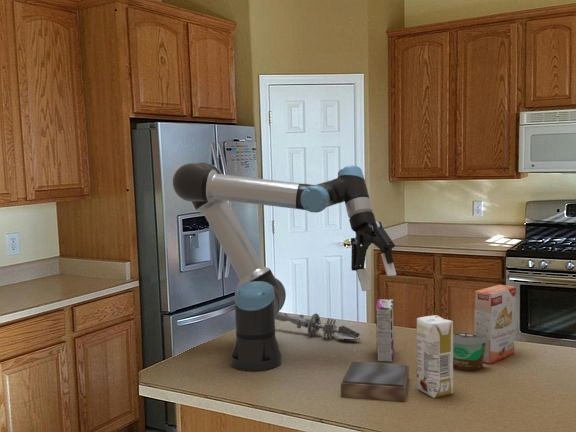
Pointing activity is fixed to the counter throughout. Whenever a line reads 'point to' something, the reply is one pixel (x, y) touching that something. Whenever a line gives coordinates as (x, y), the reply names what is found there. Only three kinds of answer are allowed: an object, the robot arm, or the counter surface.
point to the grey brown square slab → (375, 381)
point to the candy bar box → (385, 330)
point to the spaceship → (320, 326)
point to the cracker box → (496, 320)
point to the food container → (468, 351)
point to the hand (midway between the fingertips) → (378, 283)
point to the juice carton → (435, 356)
